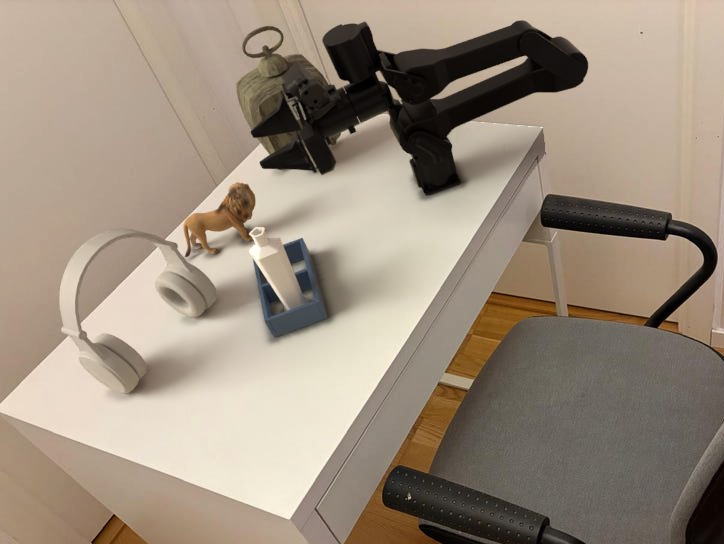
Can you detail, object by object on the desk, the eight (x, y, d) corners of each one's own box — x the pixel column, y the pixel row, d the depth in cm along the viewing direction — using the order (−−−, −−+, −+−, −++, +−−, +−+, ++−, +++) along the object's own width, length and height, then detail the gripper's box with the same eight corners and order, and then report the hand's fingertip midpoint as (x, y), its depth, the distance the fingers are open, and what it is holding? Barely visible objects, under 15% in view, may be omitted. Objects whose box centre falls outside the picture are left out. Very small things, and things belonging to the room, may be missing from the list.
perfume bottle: (284, 302, 111) (242, 224, 100) (312, 296, 111) (273, 218, 100) (281, 324, 108) (237, 246, 97) (310, 318, 108) (269, 239, 97)
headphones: (189, 292, 117) (124, 193, 103) (228, 304, 113) (166, 203, 99) (98, 387, 107) (11, 291, 92) (138, 402, 103) (53, 306, 89)
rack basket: (310, 254, 118) (302, 237, 115) (328, 318, 107) (319, 301, 105) (261, 272, 117) (252, 255, 115) (274, 338, 107) (264, 321, 104)
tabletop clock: (339, 136, 139) (289, 3, 121) (358, 156, 134) (309, 20, 115) (269, 170, 136) (207, 38, 118) (286, 192, 130) (223, 57, 112)
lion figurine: (265, 215, 127) (243, 172, 120) (273, 232, 124) (251, 187, 117) (183, 251, 124) (156, 209, 118) (189, 269, 121) (162, 226, 114)
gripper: (315, 30, 110) (220, 74, 110) (343, 85, 98) (236, 135, 98) (345, 95, 119) (257, 136, 118) (374, 153, 107) (276, 199, 106)
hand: (256, 149), depth 110 cm, fingers open, 9 cm apart
